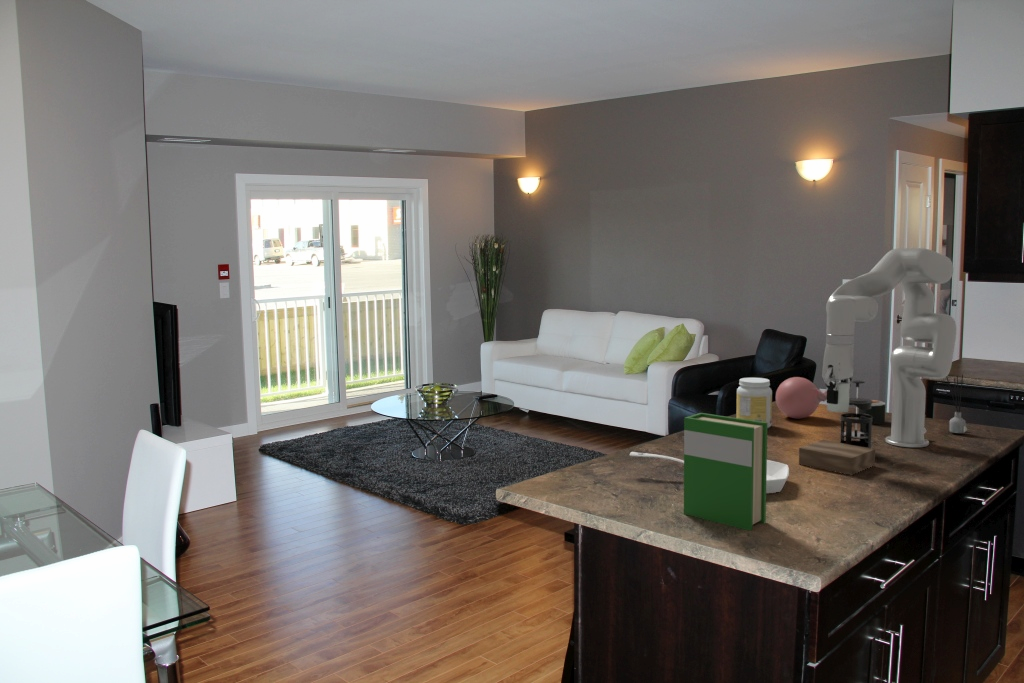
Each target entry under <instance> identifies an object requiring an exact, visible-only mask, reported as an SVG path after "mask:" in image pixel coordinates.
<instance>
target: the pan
mask: <svg viewBox="0 0 1024 683" xmlns="http://www.w3.org/2000/svg"><path fill="white" fill-rule="evenodd" d="M629 456H630V457H640V458H641V457H642V458H659V459H664V460H670V461H675V462H677V463H681V464H683V465H684V459H680V458H676V457H672V456H668V455H662V454H655V453H647V452H645V453H644V452H636V451H631V452H630V453H629ZM789 474H790V468H789V465H788V464H786V463H783V462H778V461H774V460H770V459H767V476H766V495H770V494H769V493H772V494H777V493H776V492H779V493H781V491H782V489H783V487H784V486H785V483H786V482H787V480H788V478H789Z"/></svg>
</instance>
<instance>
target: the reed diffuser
mask: <svg viewBox="0 0 1024 683" xmlns="http://www.w3.org/2000/svg"><path fill="white" fill-rule="evenodd" d="M945 378H946V380H947V383H948V386H949V390H950V393H951V396H952V400H953V403H954V406H955V409H956V411H954V417H952V418H950V420H949V433H954V434H964V433H966V432H967V431H968V428H967V425H966V424H967V422H966V420H965V419H963V417H962V412H961V405H962V404H961V403H962V391H963V381H964V380H963V378H964V374H962V375H961V383H960V384H961V385H960V391H959V377H958V375H956V378H953V381H954V384H953V385H954V394H953V390H952V388H951V386H950V382H949V381H950V380H949V378H948V375H947V376H946V377H945ZM956 384H957V385H956ZM956 387H957V388H956ZM959 393H960V394H959ZM954 396H955V398H954Z"/></svg>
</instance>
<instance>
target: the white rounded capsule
mask: <svg viewBox="0 0 1024 683" xmlns="http://www.w3.org/2000/svg"><path fill="white" fill-rule="evenodd" d="M834 383H835V382H833V384H834ZM850 383H851V382H850ZM850 383H847V382H839V383H838V387H837V390H838V404H830V403H827V402H826V411H827V412H831V413H848V412H849V413H850V405H849V394H851V393H850V391H851V386H850Z"/></svg>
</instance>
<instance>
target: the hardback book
mask: <svg viewBox="0 0 1024 683" xmlns="http://www.w3.org/2000/svg"><path fill="white" fill-rule="evenodd" d="M683 421H684V422H683V424H684V426H683V429H684V430H683V432H684V433H683V437H684V438H683V439H684V440H683V447H684V448H683V461H684V464H683V514H684V515H685V514H687V515H686V516H689V515H691V516H690V517H693V516H695V518H697V517H699V518H698V519H701V518H702V520H705V519H706V521H709V520H710V521H711V522H713V523H717V522H718V524H721V523H722V524H723V525H727V526H729V527H730V526H731V527H734V528H738V529H741V530H747V531H750V532H751V531H753V528H754V527H753V526H754V524H757V523H761V524H765V523H766V522H767V520H766V519H767V515H766V514H767V494H766V476H767V460H768V428H767V422H760V421H753V420H746V419H740V418H736V417H732V416H727V415H726V416H724V415H719V414H718V415H717V414H711V413H704V412H699V413H695V414H693V415H689V416H686V417H684V419H683Z"/></svg>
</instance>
